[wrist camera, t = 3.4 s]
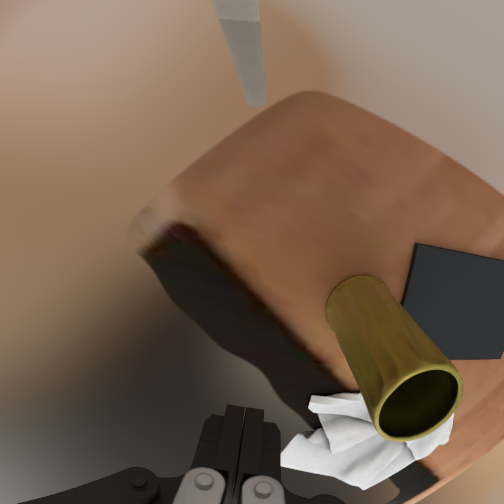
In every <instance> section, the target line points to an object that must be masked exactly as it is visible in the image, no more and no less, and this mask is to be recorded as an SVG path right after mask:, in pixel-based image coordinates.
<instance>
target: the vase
mask: <svg viewBox="0 0 504 504" xmlns="http://www.w3.org/2000/svg"><path fill="white" fill-rule="evenodd" d="M326 317H327V321H328V324H329V326H330V327H331V329H332V330H333V332H334V333H335V335H336V338H337V340H338V343H339V345H340V347H341V349H342V351H343V353H344V355H345V357H346V360H347V362H348V364H349V367H350V369H351V371H352V373H353V375H354V378H355V380H356V382H357V384H358V387H359V389H360V392H361V394H362V397H363V399H364V402H365V405H366V407H367V410H368V413H369V416H370V418H371V421H372V423H373V425H374V427H375V429H376V430H377V432H378V433H379V434H380V435H381V436H382V437H383V438H384V439H386V440H389V441H394V442H404V441H412V440H416V439H419V438H422V437H425V436H427V435H428V434H430V433H432V432H433V431H435V430H436V429H438V428H439V427H440V426H441V425H443V424H444V423H445V422H446V421H447V420H448V419H449V418H450V417H451V416H452V414H453V413H454V411H455V410H456V408H457V407H458V405H459V403H460V400H461V397H462V392H463V380H462V377H461V375H460V374H459V372H458V370H457V369H456V367H455V366H454V365H453V364H452V362H451V361H450V360H449V359H448V358H447V357H446V356H445V355H444V354H443V353H442V351H441V350H440V349H439V348H438V347H437V346H436V345H435V343H434V342H433V341H432V340H431V339H430V338H429V337H428V336H427V335H426V334H425V333H424V332H423V331H422V329H421V328H420V327H419V326H418V324H417V323H416V322H415V320H414V319H413V318H412V317H411V315H410V314H409V313H408V312H407V311H406V310H405V309H404V308H403V306H402V305H401V304H400V303H399V302H398V301H397V300H396V299H395V298H394V297H393V296H392V295H391V293H390V291H389V290H388V288H387V287H386V285H385V284H384V283H383V282H382V281H380V280H379V279H377V278H374V277H370V276H355V277H352V278H349V279H347V280H345V281H343V282H342V283H341V284H340V285H338V286H337V287H336V289H335V290H334V291H333V292H332V294H331V295H330V297H329V299H328V302H327V307H326Z"/></svg>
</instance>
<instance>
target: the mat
mask: <svg viewBox="0 0 504 504" xmlns="http://www.w3.org/2000/svg"><path fill="white" fill-rule="evenodd" d="M401 305H402V306H403V308H404V309H405V310H406V311H407V312H408V313H409V314H410V315H411V317H412V318H413V319H414V320H415V322H416V323H417V324H418V326H419V327H420V328H421V329H422V331H423V332H424V333H425V334H426V335H427V336H428V337H429V338H430V339H431V340H432V341H433V342H434V343H435V345H436V346H437V347H438V348H439V349H440V350H441V351H442V353H443V354H444V355H445V356H446V357H447V358H448V359H449V360H480V359H501V356H502V354H503V352H504V261H502V260H498V259H493V258H488V257H483V256H479V255H474V254H469V253H464V252H459V251H454V250H449V249H444V248H439V247H434V246H428V245H423V244H418V243H416V244H415V249H414V253H413V258H412V263H411V267H410V271H409V275H408V280H407V284H406V288H405V291H404V295H403V299H402V303H401Z"/></svg>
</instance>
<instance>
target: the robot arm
mask: <svg viewBox="0 0 504 504" xmlns="http://www.w3.org/2000/svg"><path fill="white" fill-rule="evenodd" d="M244 408H245V407H240V406H233V405H227V407H226V412H225V416H220V415H215V414H212V415H211V416H210V417H209V418H208V419H207V420H205V422H204V425H203V429H202V432H201V435H200V440H199V443H198V446H197V449H196V453H195V456H194V459H193V463H192V466H191V468H190V470H189V471H188V472H187V473H185V474H183V475H181V476H178V477H172V478H158V477H157V476H156V475H155V474H154V473H153V472H152V471H150V470H148V469H145V468H141V467H132V468H128V469H125V470H123V471H120V472H118V473H115V474H112V475H110V476H107V477H104V478H102V479H99V480H96V481H94V482H90V483H88V484H85V485H82V486H79V487H76V488H73V489H69V490H66V491H63V492H60V493H56V494H53V495H49V496H46V497H42V498H38V499H35V500H30V501H27V502H22V503H18V504H230V498H231V493H232V488H233V483H234V489H233V495H232V503H231V504H345V503H344V502H342V501H341V500H340V499H338V498H337V497H335V496H332V495H326V494H321V495H317V496H314V497H312V498H311V499H308V498H304V497H301V496H297V495H295V494H293V493H290V492H289V491H288V490H287V489H286V488H285V487H284V486H283V484H282V482H281V453H280V452H281V451H280V449H281V445H280V444H281V443H280V442H281V441H280V430H279V429H278V427H277V425H276V424H275V423H270V422H263V418H264V410H262V409H255V408H246V411H245V417H244V422H243V416H244ZM242 423H243V428H242ZM241 431H242V434H241ZM240 438H241V440H240ZM239 445H240V446H239ZM238 452H239V453H238ZM237 459H238V461H237ZM236 466H237V468H236ZM235 473H236V475H235ZM234 477H235V481H234Z"/></svg>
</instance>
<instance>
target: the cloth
mask: <svg viewBox="0 0 504 504" xmlns="http://www.w3.org/2000/svg"><path fill="white" fill-rule="evenodd" d="M308 408H309V409H310V410H311V411H312V412H313V413H318V416H319V419H320V422H321V424H322V426H323V428H319V429H316V430H315V431H306V432H302V433H298V434H297V435H296V436H294V438H293V439H292V440H291V441H290V442H289V444H288V445H287V446H286V448H285V449H284V450H283V451H282V452H281V466H283V467H287V468H292V469H297V470H301V471H307V472H311V473H317V474H322V475H328V476H334V477H336V478H338V479H340V480H342V481H344V482H346V483H348V484H350V485H354V486H358V487H360V488H361V489H362V490H365V489H367V488H369V487H371V486H373V485H375V484H377V483H379V482H380V481H382V480H384V479H386V478H388V477H389V476H391V475H393V474H395V473H396V472H398V471H400V470H401V469H403V468H404V467H406V466H407V465H409V464H410V463H412V462H413V461H415V460H416V461H417V460H419V459H422V458H424V457H426V456H428V455H429V454H431V453H432V451H433V450H434V449H435V448H436V447H437V446H438V445H444V444H445V443H447V442H448V441H449V436H450V433H451V430H452V425H453V418H454V413H453V414H452V416H451V417H450V418H449V419H448V420H447V421H446V422H445V423H444V424H443V425H441V426H440V427H439V428H438V429H436V430H435V431H433V432H432V433H430V434H428V435H427V436H425V437H422V438H419V439H416V440H412V441H404V442H394V441H389V440H386V439H384V438H383V437H382V436H381V435H380V434H379V433H378V432H377V430H376V429H375V427H374V425H373V423H372V421H371V418H370V416H369V413H368V410H367V407H366V405H365V402H364V399H363V397H362V394H361V392H357V393H338V394H333V395H330V396H327V397H324V396H313V395H312V396H311V400H310V403H309V406H308Z"/></svg>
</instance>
